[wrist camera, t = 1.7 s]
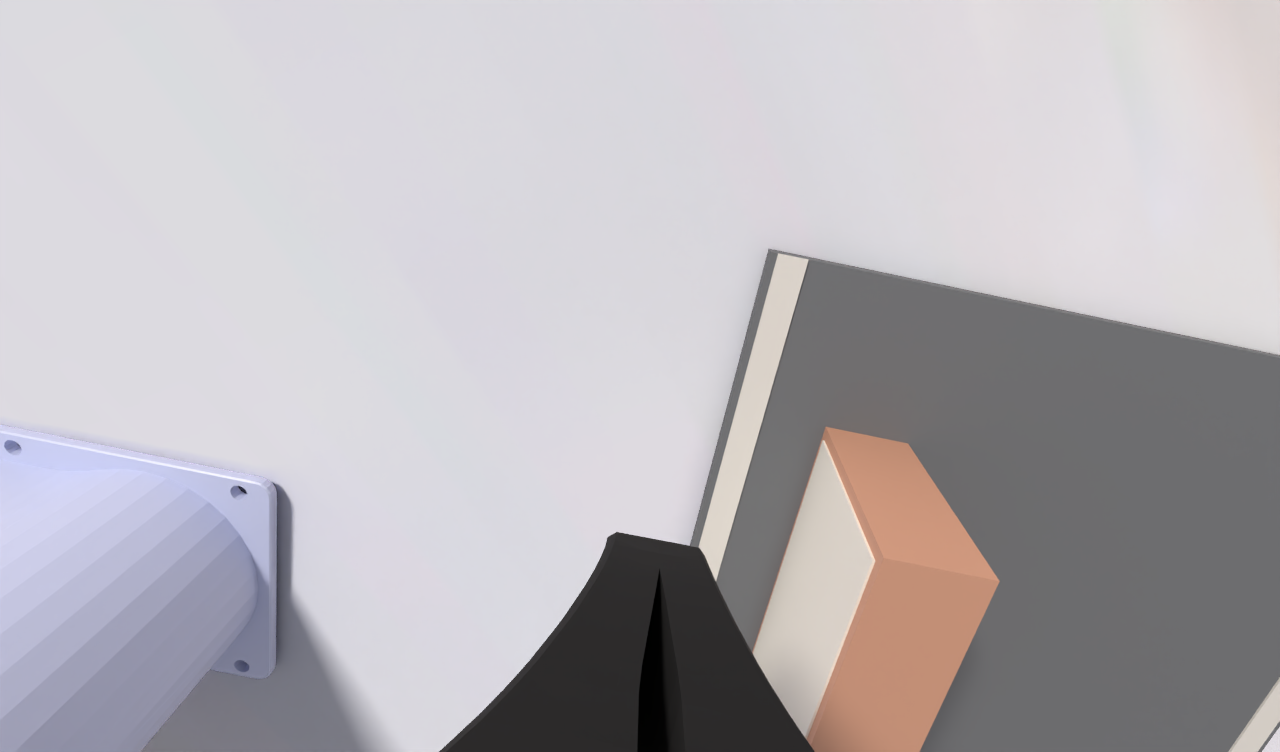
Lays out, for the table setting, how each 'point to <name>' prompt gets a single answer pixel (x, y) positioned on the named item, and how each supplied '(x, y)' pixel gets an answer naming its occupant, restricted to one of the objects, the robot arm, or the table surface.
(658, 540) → the robot arm
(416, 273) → the table surface
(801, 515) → the card box
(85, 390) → the table surface
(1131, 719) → the mat
